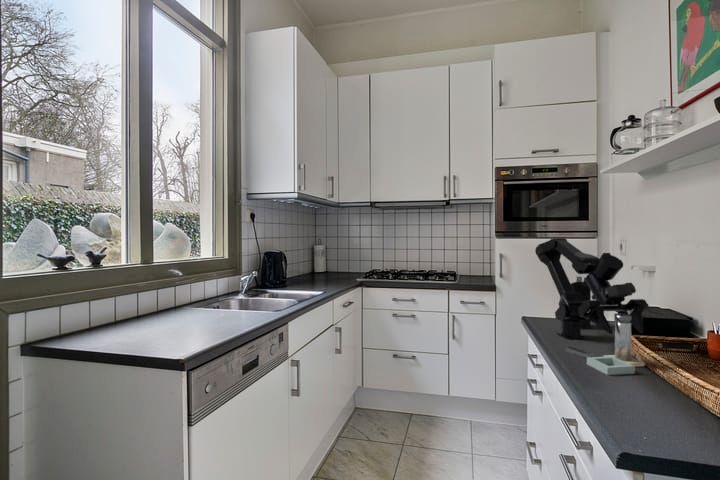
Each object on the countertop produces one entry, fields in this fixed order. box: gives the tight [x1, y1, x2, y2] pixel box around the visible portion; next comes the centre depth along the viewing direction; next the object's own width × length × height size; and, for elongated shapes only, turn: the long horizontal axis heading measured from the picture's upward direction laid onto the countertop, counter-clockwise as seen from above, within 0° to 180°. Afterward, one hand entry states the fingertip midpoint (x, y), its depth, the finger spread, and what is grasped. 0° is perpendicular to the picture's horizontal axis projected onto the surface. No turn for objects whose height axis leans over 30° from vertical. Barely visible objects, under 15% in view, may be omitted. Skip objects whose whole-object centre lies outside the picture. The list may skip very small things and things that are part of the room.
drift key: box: [565, 346, 595, 359], centre depth 118 cm, size 8×2×1 cm, turn 25°
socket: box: [586, 356, 636, 376], centre depth 106 cm, size 8×8×2 cm
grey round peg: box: [613, 313, 632, 361], centre depth 110 cm, size 4×4×13 cm
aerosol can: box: [570, 275, 592, 330], centre depth 149 cm, size 8×8×20 cm
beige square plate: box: [603, 354, 646, 368], centre depth 110 cm, size 7×7×1 cm
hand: (627, 333), depth 109 cm, fingers open, 9 cm apart
